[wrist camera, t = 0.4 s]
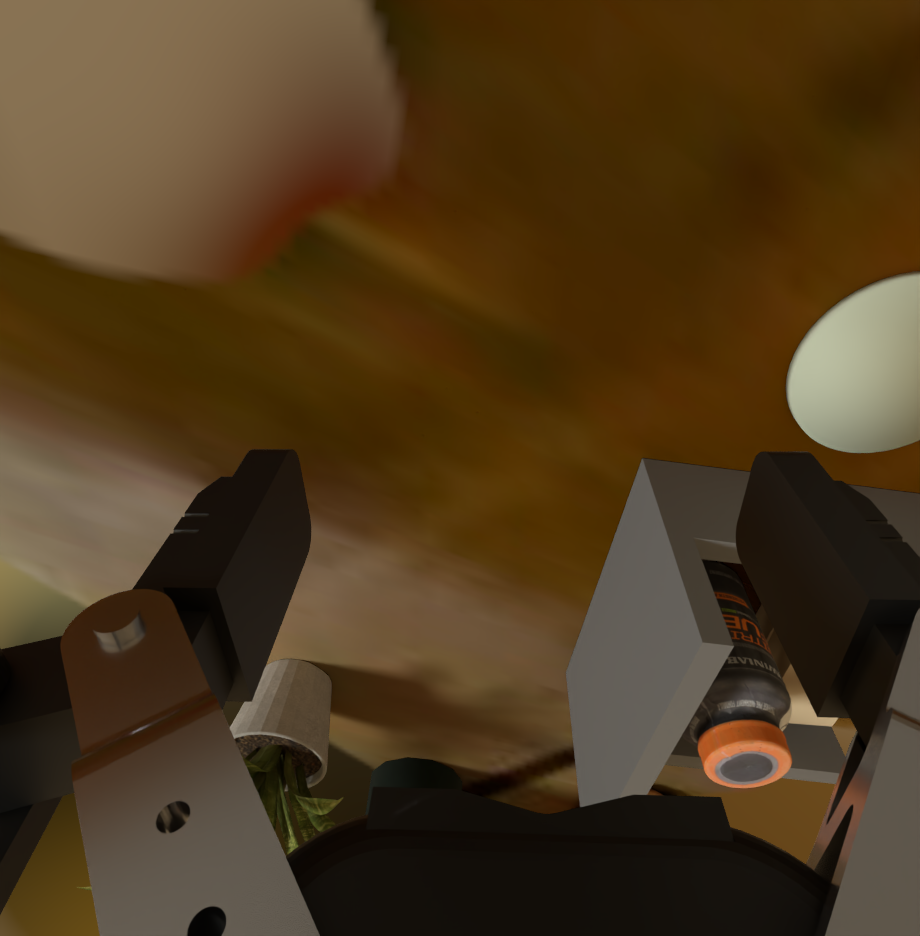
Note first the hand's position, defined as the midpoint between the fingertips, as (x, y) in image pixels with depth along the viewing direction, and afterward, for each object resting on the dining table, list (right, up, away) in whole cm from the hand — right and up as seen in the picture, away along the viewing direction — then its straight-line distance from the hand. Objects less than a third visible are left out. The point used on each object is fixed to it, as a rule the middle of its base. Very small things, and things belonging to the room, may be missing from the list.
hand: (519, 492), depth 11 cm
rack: (+16, -8, +28) cm, 33 cm away
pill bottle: (+13, -7, +28) cm, 31 cm away
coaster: (+19, +5, +18) cm, 27 cm away
